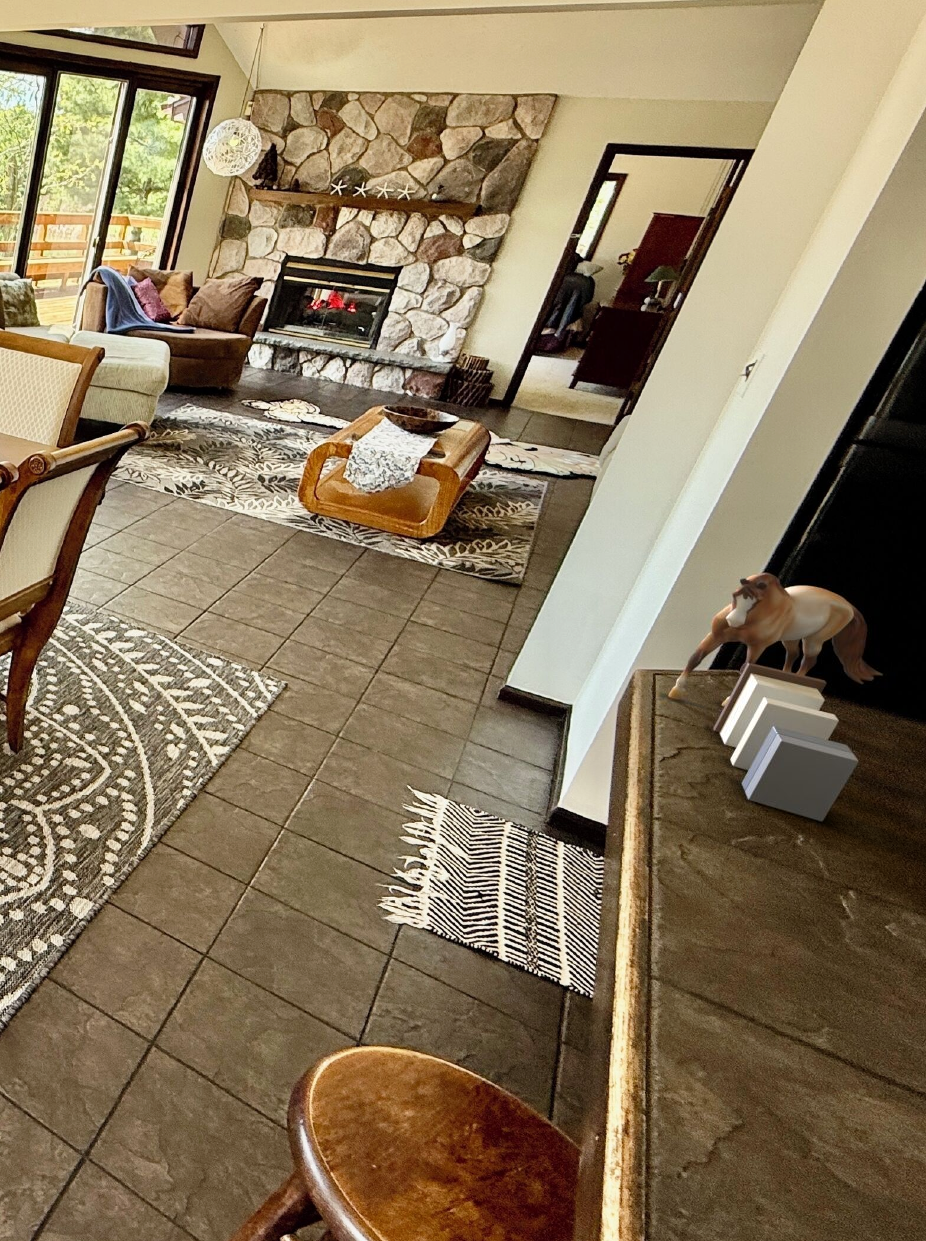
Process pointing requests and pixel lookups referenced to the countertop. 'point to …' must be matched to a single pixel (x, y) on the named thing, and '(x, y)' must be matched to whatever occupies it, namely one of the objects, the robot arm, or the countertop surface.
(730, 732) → the white books
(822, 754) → the grey books
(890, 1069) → the countertop surface
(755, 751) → the white book
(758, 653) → the horse figurine
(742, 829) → the countertop surface
